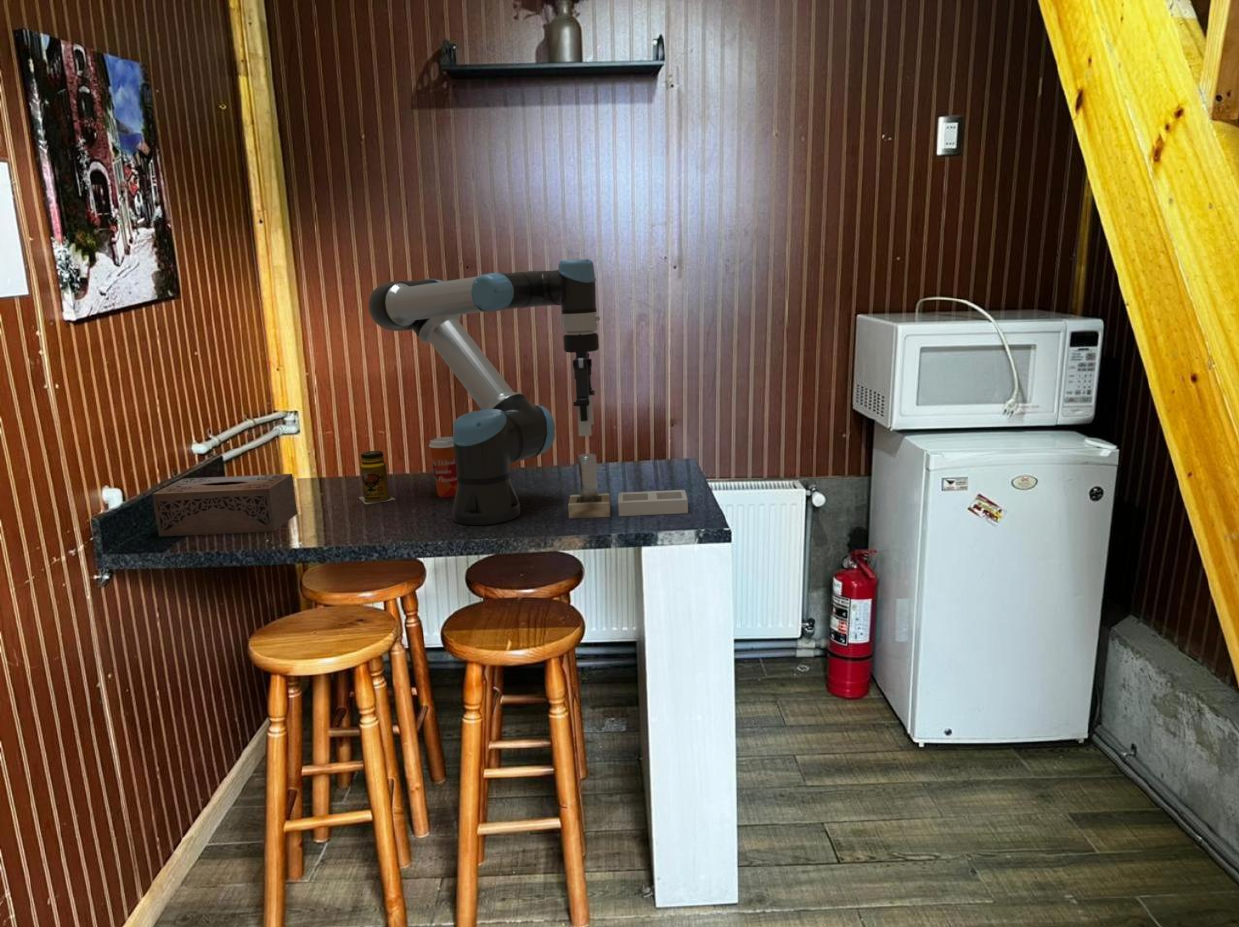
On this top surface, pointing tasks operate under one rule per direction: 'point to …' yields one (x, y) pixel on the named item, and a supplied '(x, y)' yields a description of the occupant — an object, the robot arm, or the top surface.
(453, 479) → the paper cup
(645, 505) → the rack
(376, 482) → the condiment
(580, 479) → the grey peg
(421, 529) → the top surface
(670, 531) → the top surface
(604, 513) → the socket block
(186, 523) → the tissue box cover
